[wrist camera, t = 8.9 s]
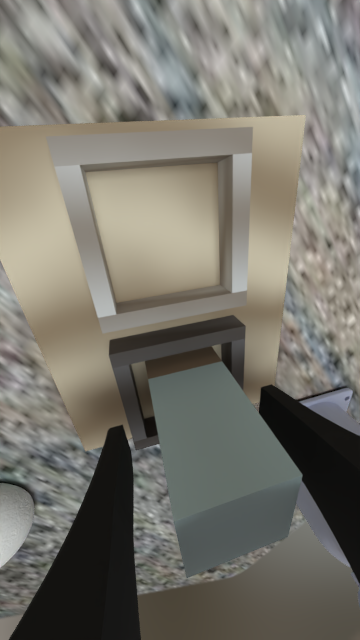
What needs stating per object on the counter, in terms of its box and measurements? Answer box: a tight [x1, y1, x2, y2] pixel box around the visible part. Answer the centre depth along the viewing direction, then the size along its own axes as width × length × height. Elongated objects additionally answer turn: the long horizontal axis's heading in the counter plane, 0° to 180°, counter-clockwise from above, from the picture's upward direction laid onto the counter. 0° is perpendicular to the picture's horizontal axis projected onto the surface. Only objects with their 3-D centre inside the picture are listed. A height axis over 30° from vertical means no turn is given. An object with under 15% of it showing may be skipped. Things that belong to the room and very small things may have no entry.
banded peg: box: [145, 346, 303, 578], centre depth 11 cm, size 4×4×8 cm
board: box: [0, 115, 306, 451], centre depth 12 cm, size 17×14×3 cm
